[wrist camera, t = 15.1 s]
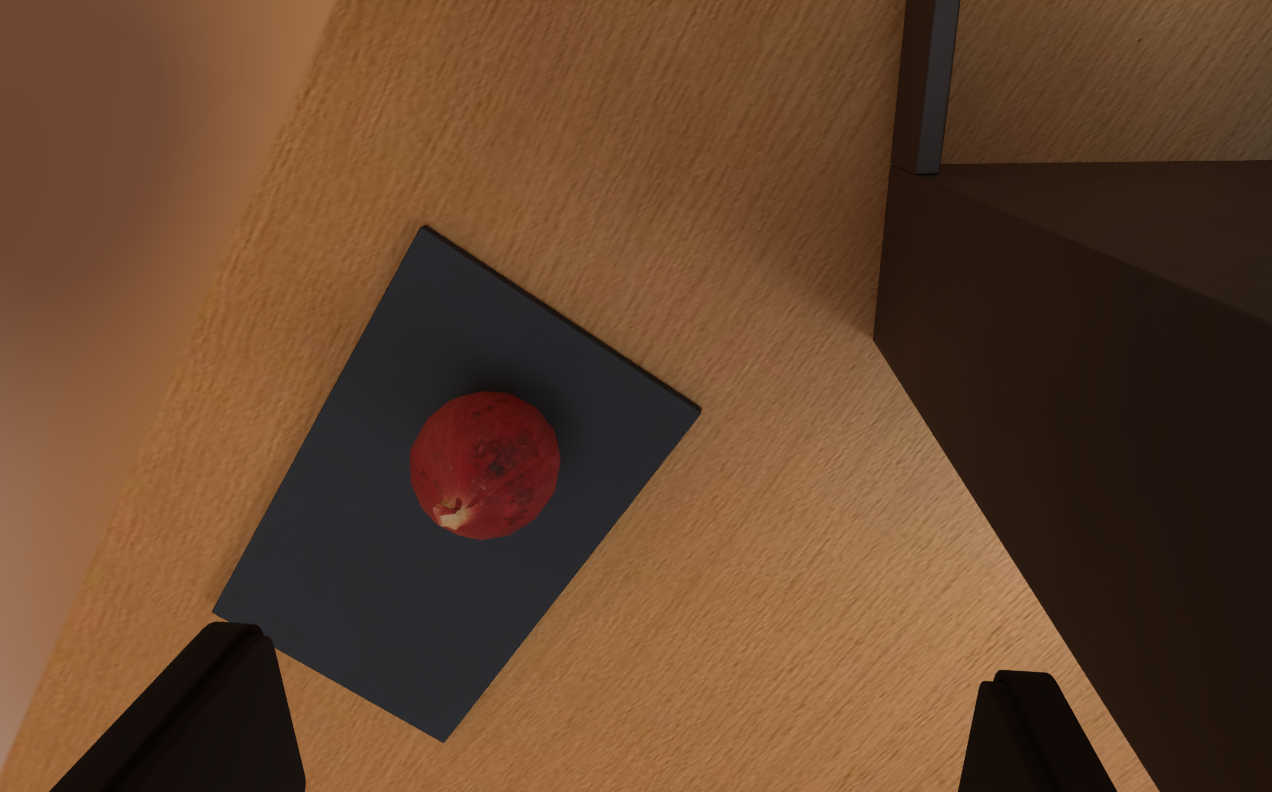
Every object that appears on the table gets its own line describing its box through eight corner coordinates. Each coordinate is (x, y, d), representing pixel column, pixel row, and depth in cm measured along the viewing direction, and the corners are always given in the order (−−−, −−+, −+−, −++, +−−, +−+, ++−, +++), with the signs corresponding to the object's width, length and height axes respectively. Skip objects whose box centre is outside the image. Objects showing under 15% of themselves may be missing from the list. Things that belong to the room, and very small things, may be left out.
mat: (425, 224, 32) (420, 226, 31) (701, 407, 34) (701, 412, 33) (218, 605, 40) (210, 612, 40) (447, 735, 42) (443, 743, 42)
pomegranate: (517, 339, 33) (459, 412, 25) (600, 441, 34) (568, 538, 27) (419, 412, 34) (338, 500, 27) (502, 506, 36) (447, 614, 28)
